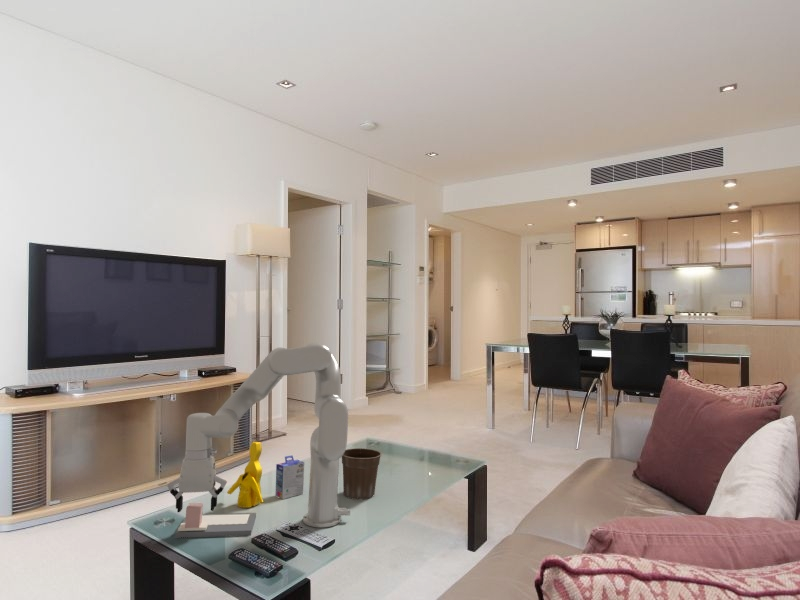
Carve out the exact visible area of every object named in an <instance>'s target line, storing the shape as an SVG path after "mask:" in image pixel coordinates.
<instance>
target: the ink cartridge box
mask: <svg viewBox="0 0 800 600" xmlns="http://www.w3.org/2000/svg"><path fill="white" fill-rule="evenodd" d="M284 461H285V462H281V463H276V464H275V468H276V471H275V497H276V498H278V497H279V499H281V500H284V499H288V498H292V497H295V496H299V495H303V494H304V484H305V483H304V479H305V461H302V460H299V459H294V456H293V455H286V456H284Z"/></svg>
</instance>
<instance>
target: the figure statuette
mask: <svg viewBox="0 0 800 600" xmlns="http://www.w3.org/2000/svg"><path fill="white" fill-rule="evenodd" d="M249 446H250V447H249V462H248V463H247V464H246V466H245V468H244V473H242V474H240V475H239V477H238V478H237V480H236V481H235V482H234V484H232V485H231V487H230V488H229V489H228V490H227V491H226V493H227V495H232V494H233V493H234V492H235V490H237V489H238V487H239V491H238V497H237V507H238V508H242V509H243V508H247V509H248V508H252V507H255V506H258V505H259V504H263V503H264V500H263V497H262V488H261V479H262V474H263V468H262V466H261V463H260V457H261V454H262V442H260V441H253V442H251V444H250V445H249Z"/></svg>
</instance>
